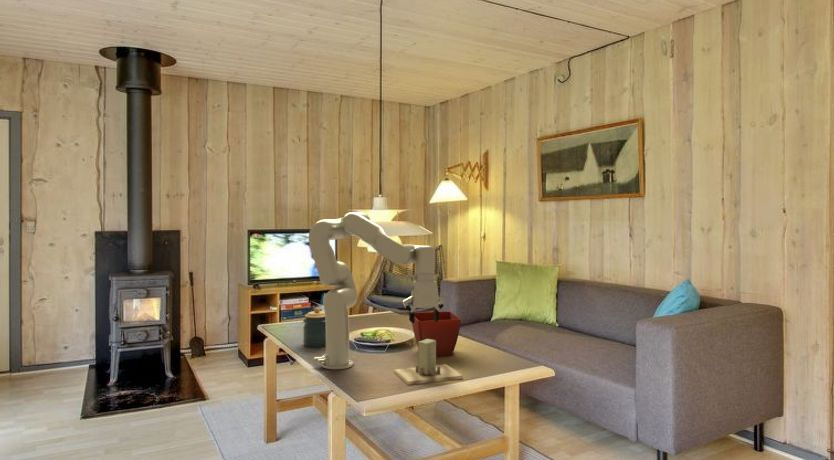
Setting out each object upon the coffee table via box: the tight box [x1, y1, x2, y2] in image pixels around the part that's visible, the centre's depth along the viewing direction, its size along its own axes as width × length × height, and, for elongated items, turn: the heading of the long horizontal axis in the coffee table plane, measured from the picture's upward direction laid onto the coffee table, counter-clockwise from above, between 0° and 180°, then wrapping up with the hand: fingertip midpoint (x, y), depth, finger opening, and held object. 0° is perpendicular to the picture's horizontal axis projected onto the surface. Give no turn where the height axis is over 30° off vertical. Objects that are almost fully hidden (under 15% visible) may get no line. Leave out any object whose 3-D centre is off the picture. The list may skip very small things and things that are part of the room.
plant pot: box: [411, 310, 462, 357], centre depth 239 cm, size 19×19×17 cm
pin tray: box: [394, 363, 464, 386], centre depth 206 cm, size 22×16×4 cm
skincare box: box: [417, 339, 437, 375], centre depth 206 cm, size 6×4×12 cm
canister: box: [302, 307, 326, 349], centre depth 254 cm, size 13×13×18 cm
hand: (424, 321), depth 207 cm, fingers open, 9 cm apart
